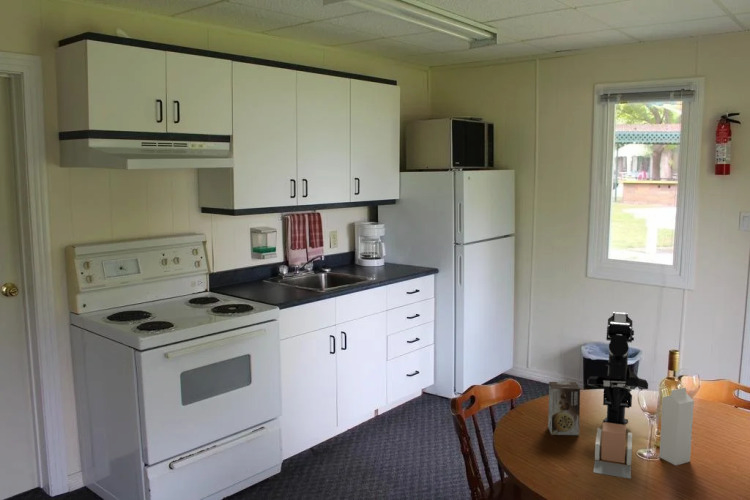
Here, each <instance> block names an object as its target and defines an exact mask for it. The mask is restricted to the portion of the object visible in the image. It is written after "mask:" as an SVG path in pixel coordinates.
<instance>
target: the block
mask: <svg viewBox="0 0 750 500" xmlns="http://www.w3.org/2000/svg"><path fill="white" fill-rule="evenodd" d="M602 422H603V421H602ZM626 440H627V424H624V425H622V424H614V423H607V422H603V424H602V430H601V456H600V461H606V462H613V463H619V464H625V463H626V445H627V444H626V442H627V441H626Z"/></svg>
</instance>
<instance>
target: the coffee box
mask: <svg viewBox="0 0 750 500" xmlns="http://www.w3.org/2000/svg"><path fill="white" fill-rule="evenodd" d="M580 405H581V388H580V386H579V384H578V383H577V381H549V382H548V419H547V421H548V424H547V427H548V430H549V432H550V435H552V436H555V435H558V436H561V435H562V436H580V409H581V407H580Z"/></svg>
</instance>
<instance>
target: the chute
mask: <svg viewBox="0 0 750 500" xmlns="http://www.w3.org/2000/svg"><path fill="white" fill-rule="evenodd" d="M596 429H597V430H596V437H595V443H594V444H595V445H594V447H595V448H594V465H593V473H594V474H600V475H606V476H610V477H611V476H612V477H619V478H623V479H624V478H625V479H629V480H631V479H632V459H633V458H632V455H633V454H632V453H633V452H632V451H633V433H632V432H627V439H626V440H627V441H626V442H627V444H626V446H625V463H626V464H623V463H617V462H611V461H604V460H600V459H601V454H602V431H603V428H598V427H597V428H596Z"/></svg>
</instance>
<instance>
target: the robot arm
mask: <svg viewBox="0 0 750 500" xmlns="http://www.w3.org/2000/svg"><path fill="white" fill-rule="evenodd" d="M605 339H606V341H607V342H608V341H610V342H609V343H608V361H606V362H605V366H607V374H605V376H604V377H601V376H594V375H593V376H592V375H591V376H589V377H588V379H587V385H588V386H591V387H592V386H593V387H596V388H602V389H603V401H602V402H603V403H602V405H603V406H606V408H607V409H606V417H605V418H604V419H602V422H607V423H614V424H622V425H626V423H628V422H629V419H627V418H625V417H626V415H625V414H626V409H630V407H631V408H632V405H633V394H632V393H631V392H632V389H631V388H635V389H636V388H638V389H639V390H649V383H648V380H646V379H644V378H641V377H639V376H638V375H636V374H635V373H634V372H632V371H631V365H629V364H628V361H629V360H628V359H629V343H630V344H631V343H633V341H634V340H635V330H634V328H633V320H632V318H630V317H629V313H628V312H626V311H613V313H612V315H611V316H610V317H609V318H608V319H607V326H606V338H605Z"/></svg>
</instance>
